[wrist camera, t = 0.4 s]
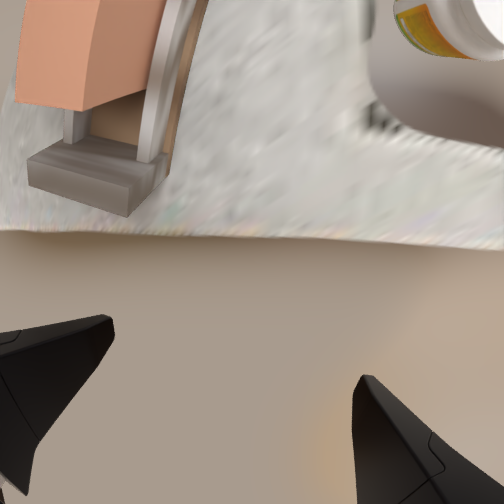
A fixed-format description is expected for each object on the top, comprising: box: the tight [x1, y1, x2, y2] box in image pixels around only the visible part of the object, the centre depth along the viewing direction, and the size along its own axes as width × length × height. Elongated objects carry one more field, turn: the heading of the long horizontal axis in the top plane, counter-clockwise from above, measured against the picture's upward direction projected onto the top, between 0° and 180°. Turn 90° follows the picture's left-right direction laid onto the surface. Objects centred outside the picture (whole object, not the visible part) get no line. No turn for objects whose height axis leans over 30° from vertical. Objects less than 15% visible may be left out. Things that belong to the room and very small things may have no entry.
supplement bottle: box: [394, 0, 504, 61], centre depth 10 cm, size 5×5×10 cm
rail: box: [27, 0, 209, 218], centre depth 16 cm, size 14×8×7 cm, turn 165°
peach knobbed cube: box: [15, 0, 167, 112], centre depth 13 cm, size 7×5×8 cm
